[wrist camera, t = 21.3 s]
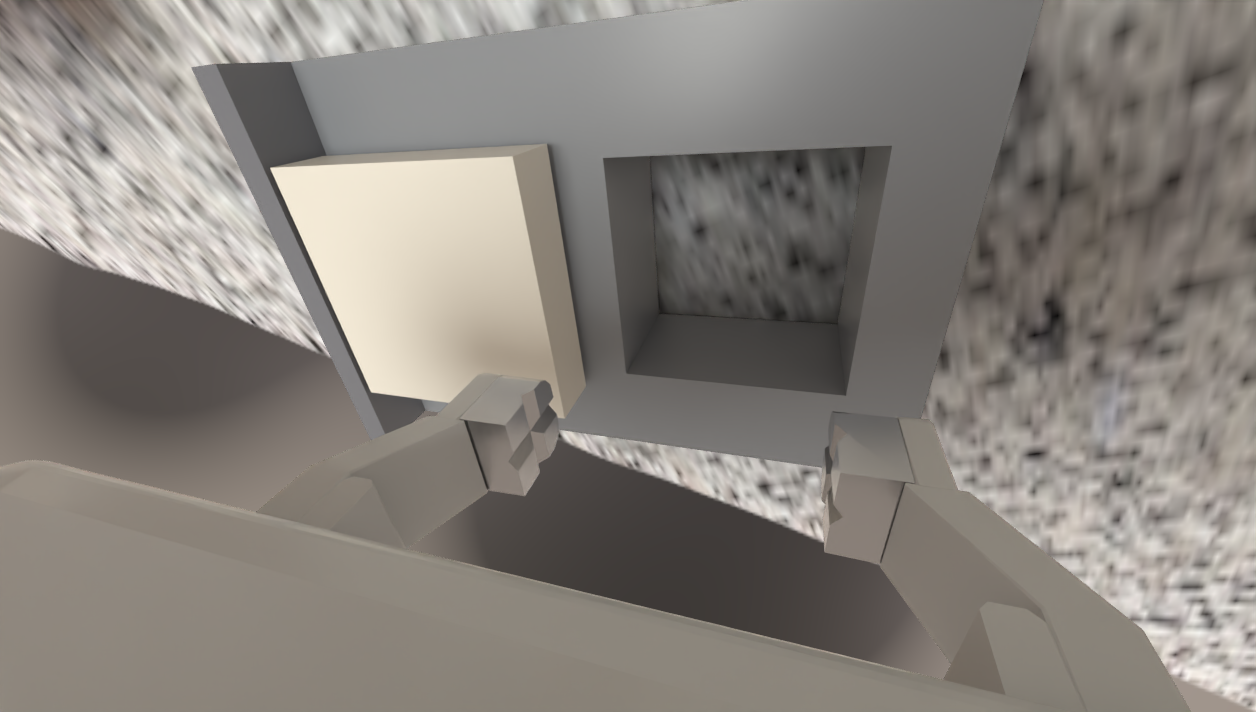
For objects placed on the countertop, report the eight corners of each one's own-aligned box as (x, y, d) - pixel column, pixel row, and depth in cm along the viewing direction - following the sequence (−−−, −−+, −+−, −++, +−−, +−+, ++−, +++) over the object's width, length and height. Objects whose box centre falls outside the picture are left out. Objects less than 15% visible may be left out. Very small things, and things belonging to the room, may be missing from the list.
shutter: (546, 144, 14) (512, 156, 12) (586, 385, 18) (565, 418, 16) (322, 156, 16) (269, 167, 15) (404, 365, 21) (371, 392, 19)
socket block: (980, -15, 13) (1123, -67, 7) (883, 394, 20) (915, 536, 14) (378, 61, 19) (190, 67, 14) (467, 354, 27) (371, 441, 21)
